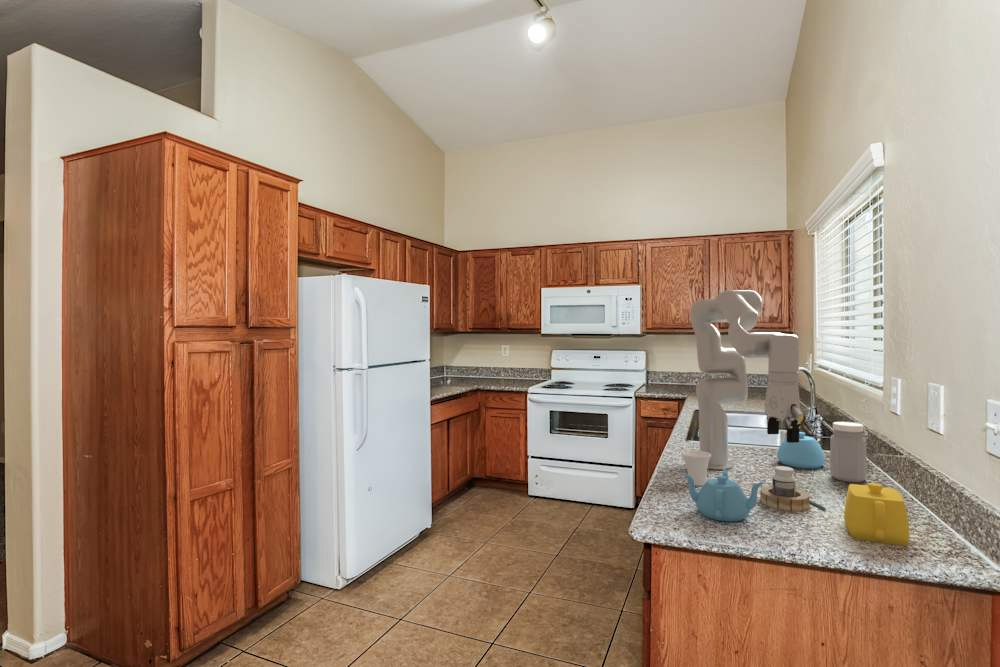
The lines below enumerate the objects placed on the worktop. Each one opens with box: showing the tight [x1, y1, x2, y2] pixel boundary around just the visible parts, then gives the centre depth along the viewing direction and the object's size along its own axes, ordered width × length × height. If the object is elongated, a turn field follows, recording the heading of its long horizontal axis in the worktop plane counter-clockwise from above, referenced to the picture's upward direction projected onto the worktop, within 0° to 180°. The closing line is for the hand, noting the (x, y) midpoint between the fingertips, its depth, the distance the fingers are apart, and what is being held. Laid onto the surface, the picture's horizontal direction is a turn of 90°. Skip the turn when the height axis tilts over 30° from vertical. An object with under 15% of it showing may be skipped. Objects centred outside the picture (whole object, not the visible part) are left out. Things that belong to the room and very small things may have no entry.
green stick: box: [809, 499, 827, 511], centre depth 147 cm, size 13×1×1 cm, turn 2°
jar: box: [829, 421, 868, 483], centre depth 170 cm, size 10×10×18 cm
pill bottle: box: [772, 465, 797, 497], centre depth 147 cm, size 6×6×10 cm
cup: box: [681, 449, 711, 487], centre depth 166 cm, size 9×9×10 cm
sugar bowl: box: [776, 431, 826, 470], centre depth 189 cm, size 15×15×12 cm
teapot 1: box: [682, 469, 765, 523], centre depth 139 cm, size 15×15×10 cm
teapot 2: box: [843, 482, 910, 547], centre depth 126 cm, size 20×12×12 cm, turn 151°
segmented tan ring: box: [759, 485, 810, 512], centre depth 147 cm, size 12×12×3 cm
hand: (782, 438), depth 147 cm, fingers open, 9 cm apart
